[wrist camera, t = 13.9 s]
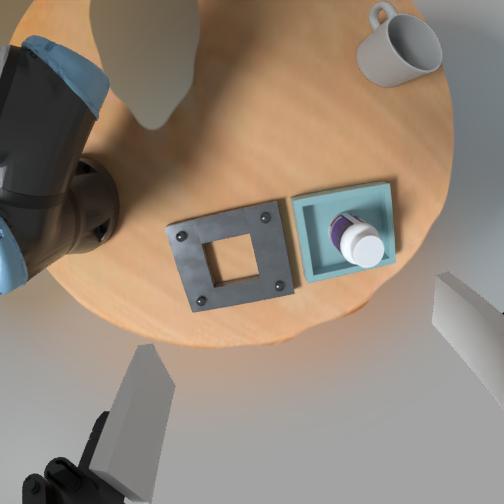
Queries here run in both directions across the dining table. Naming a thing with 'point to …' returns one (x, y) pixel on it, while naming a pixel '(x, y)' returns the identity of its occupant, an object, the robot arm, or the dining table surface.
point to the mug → (397, 48)
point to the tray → (320, 215)
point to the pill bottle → (356, 240)
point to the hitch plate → (225, 226)
